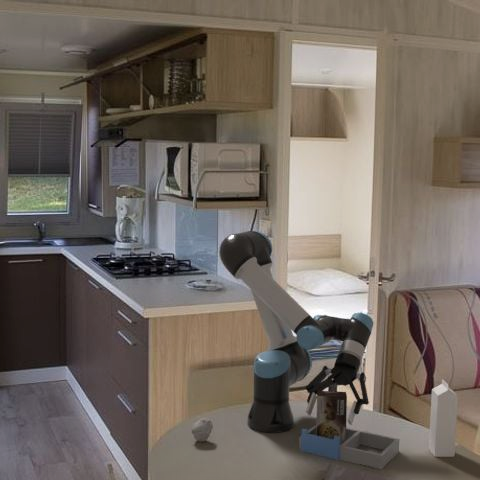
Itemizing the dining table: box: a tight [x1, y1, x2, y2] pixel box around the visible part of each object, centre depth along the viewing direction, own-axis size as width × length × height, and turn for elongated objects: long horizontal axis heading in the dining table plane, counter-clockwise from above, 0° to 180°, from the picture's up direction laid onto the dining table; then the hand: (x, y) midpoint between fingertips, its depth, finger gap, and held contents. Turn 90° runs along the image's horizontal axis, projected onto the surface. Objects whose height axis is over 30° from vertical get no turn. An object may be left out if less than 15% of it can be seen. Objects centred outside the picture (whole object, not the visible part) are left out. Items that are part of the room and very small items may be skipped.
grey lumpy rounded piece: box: [191, 417, 214, 443], centre depth 229 cm, size 6×7×7 cm
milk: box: [428, 379, 459, 458], centre depth 223 cm, size 6×6×22 cm
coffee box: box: [315, 390, 348, 445], centre depth 227 cm, size 9×6×16 cm
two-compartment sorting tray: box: [298, 424, 401, 470], centre depth 224 cm, size 26×16×7 cm, turn 59°
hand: (328, 418), depth 224 cm, fingers open, 13 cm apart
